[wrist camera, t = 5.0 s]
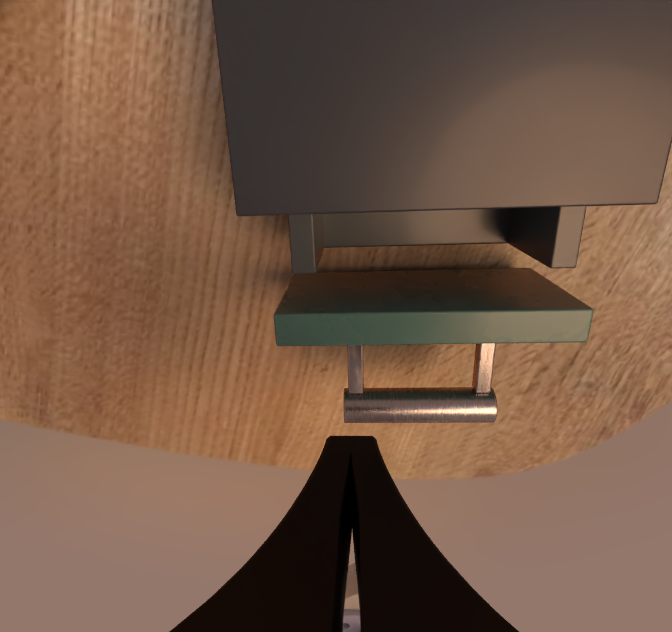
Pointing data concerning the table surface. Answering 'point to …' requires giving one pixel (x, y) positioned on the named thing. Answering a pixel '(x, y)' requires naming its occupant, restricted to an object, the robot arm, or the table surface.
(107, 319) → the table surface
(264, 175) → the dark grey storage box
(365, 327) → the drawer
